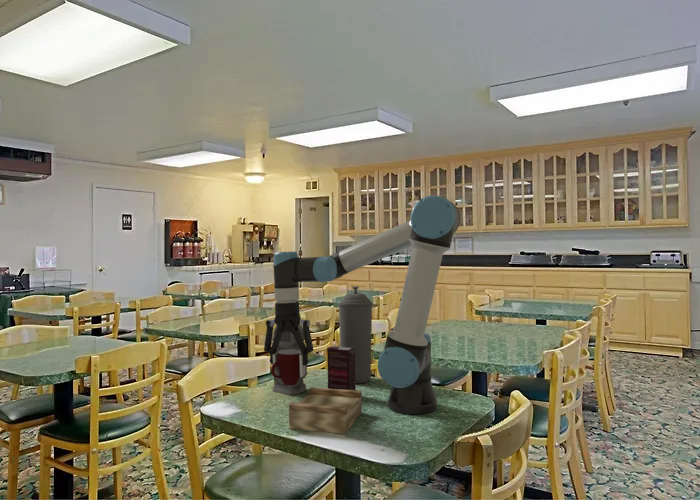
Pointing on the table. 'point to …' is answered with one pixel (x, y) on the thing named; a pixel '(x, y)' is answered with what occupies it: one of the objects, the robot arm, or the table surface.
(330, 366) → the supplement box
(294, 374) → the mug
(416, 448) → the table surface
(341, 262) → the robot arm
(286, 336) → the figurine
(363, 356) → the canister
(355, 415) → the pedestal
